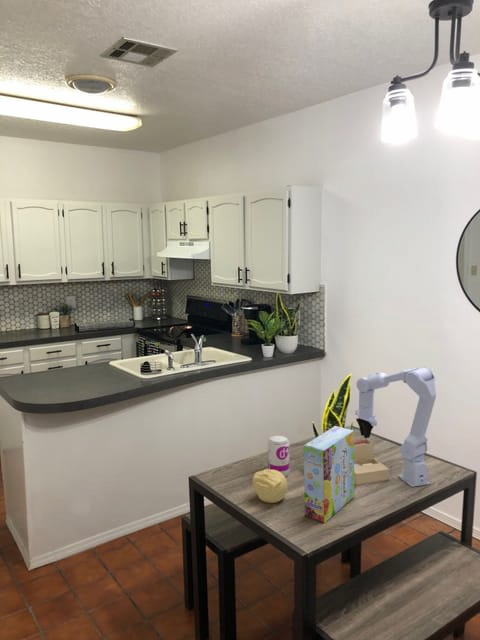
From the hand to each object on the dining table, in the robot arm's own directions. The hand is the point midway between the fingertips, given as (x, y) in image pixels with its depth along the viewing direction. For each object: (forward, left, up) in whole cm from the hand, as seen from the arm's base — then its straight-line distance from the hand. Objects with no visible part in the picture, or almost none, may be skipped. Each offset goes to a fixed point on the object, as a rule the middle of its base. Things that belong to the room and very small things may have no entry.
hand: (365, 436), depth 213 cm
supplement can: (-2, +39, -11) cm, 40 cm away
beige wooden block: (-7, +7, -3) cm, 10 cm away
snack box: (-30, +30, -11) cm, 44 cm away
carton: (-13, +7, -10) cm, 18 cm away
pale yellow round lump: (-19, +48, -11) cm, 53 cm away
